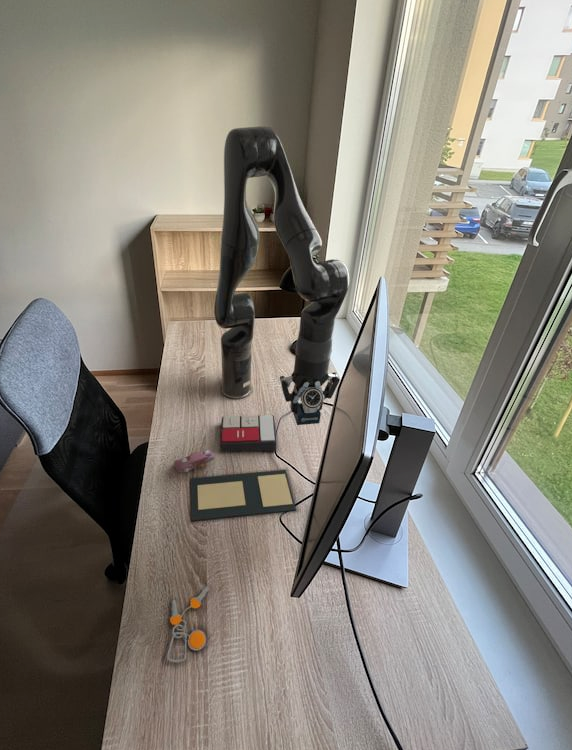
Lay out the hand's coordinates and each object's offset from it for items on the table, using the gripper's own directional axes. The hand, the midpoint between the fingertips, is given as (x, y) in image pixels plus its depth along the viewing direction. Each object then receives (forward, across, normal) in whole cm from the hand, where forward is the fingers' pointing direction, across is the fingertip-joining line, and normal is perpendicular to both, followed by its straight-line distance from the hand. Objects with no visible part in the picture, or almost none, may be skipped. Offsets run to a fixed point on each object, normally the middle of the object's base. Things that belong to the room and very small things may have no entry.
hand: (305, 410), depth 97 cm
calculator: (+17, +12, -9) cm, 23 cm away
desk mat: (+17, +17, +10) cm, 25 cm away
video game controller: (+17, +28, 0) cm, 32 cm away
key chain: (+16, +30, +36) cm, 50 cm away
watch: (+3, 0, 0) cm, 3 cm away
